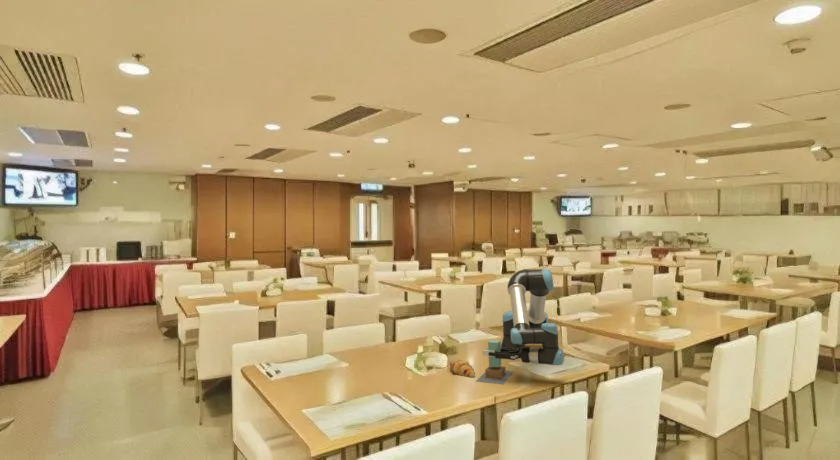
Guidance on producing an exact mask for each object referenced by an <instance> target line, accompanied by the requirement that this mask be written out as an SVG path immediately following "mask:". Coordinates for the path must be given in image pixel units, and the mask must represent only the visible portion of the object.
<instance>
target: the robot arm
mask: <svg viewBox="0 0 840 460" xmlns="http://www.w3.org/2000/svg"><path fill="white" fill-rule="evenodd" d="M553 280H554V279H553V274H552V271H551V270H550V269H547V268H541V269H539V268H537V269H520V270H517V271H516V272H514V273H513V274H512V275H511V276H510V279H509V280H508V283H507V293H508V295H509V297H510V304H511V310H509V311H506V312H504V313H503V314H502V331H503V332H502V333H503V334H502V336H503V337H502V341H501V352H496V350H495V351H490V350H488V346H487V347H485V349H483V350H482V357H489V356H492V357H495V358H499V359H501V360H512V361H515V360H518V359H520V360H521V361H522V363H525V364H526V363H527V364H529V363H531V364H535V365H539V364H540V365H549V366H562V365H564V360H565V352H564V350H563V349H562V348H560V347H559V331H558V330H559V329H558V325H557V324H556V323H554V322H549V315H548V313H547V312H545V308H546V300H547V299H546V298H547V295H549V293H550V292H551V291H554V290H555V289H554V281H553ZM527 292H529V293H530V295H529V296H530V297H529V308H528V306H527V302H526V301H527V300H526V295H525V294H526V293H527ZM538 344H539V345H541V347H535V346H532V347H530V346H527V345H538Z"/></svg>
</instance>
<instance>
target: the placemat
mask: <svg viewBox="0 0 840 460" xmlns="http://www.w3.org/2000/svg"><path fill="white" fill-rule="evenodd" d="M505 371H506V375H505V376H504V377H503V378H502V379H493V378H486V373H485V372H484V373H482V375H480V376H479V378H477V380H476V381H475V382H476V383H477V382H478V383H485V384H493V385H505V384H506V382H507V381H508V380H509V379H510V378H511V377H512V376H513V374H514V373H515V370H510V369H509V370H507V369H505Z"/></svg>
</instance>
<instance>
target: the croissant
mask: <svg viewBox="0 0 840 460" xmlns="http://www.w3.org/2000/svg"><path fill="white" fill-rule="evenodd" d="M469 363H470V362H468V361H466V360H462V359H459V360H458V361H456V362H455V361H454V362H451V363H449V366H450V370H451V372H452V373H453V374H455V375H457V376H462V377H469V378H474V377H475V376H476V373H475V369H474V368H473V366H472V365H470V364H469Z"/></svg>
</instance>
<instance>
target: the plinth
mask: <svg viewBox="0 0 840 460" xmlns="http://www.w3.org/2000/svg"><path fill="white" fill-rule="evenodd" d="M505 370H506V366H501V365H500V366H499V367H493V366H489V365H488V367H487V368H485V372H484V373H486V378H493V379H502V378H503V377H504V376H505V375H506V371H505Z"/></svg>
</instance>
